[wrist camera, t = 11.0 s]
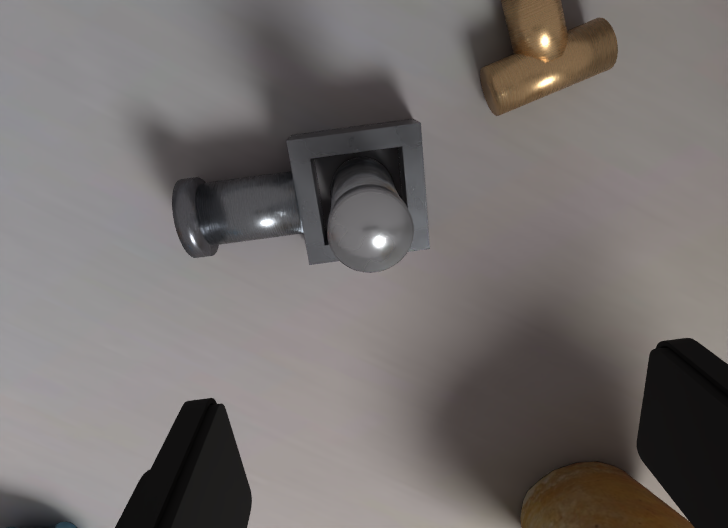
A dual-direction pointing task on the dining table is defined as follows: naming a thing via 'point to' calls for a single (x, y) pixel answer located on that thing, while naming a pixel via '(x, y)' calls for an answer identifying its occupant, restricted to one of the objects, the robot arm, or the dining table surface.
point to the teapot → (62, 525)
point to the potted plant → (595, 501)
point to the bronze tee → (545, 54)
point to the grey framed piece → (295, 193)
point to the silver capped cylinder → (367, 217)
